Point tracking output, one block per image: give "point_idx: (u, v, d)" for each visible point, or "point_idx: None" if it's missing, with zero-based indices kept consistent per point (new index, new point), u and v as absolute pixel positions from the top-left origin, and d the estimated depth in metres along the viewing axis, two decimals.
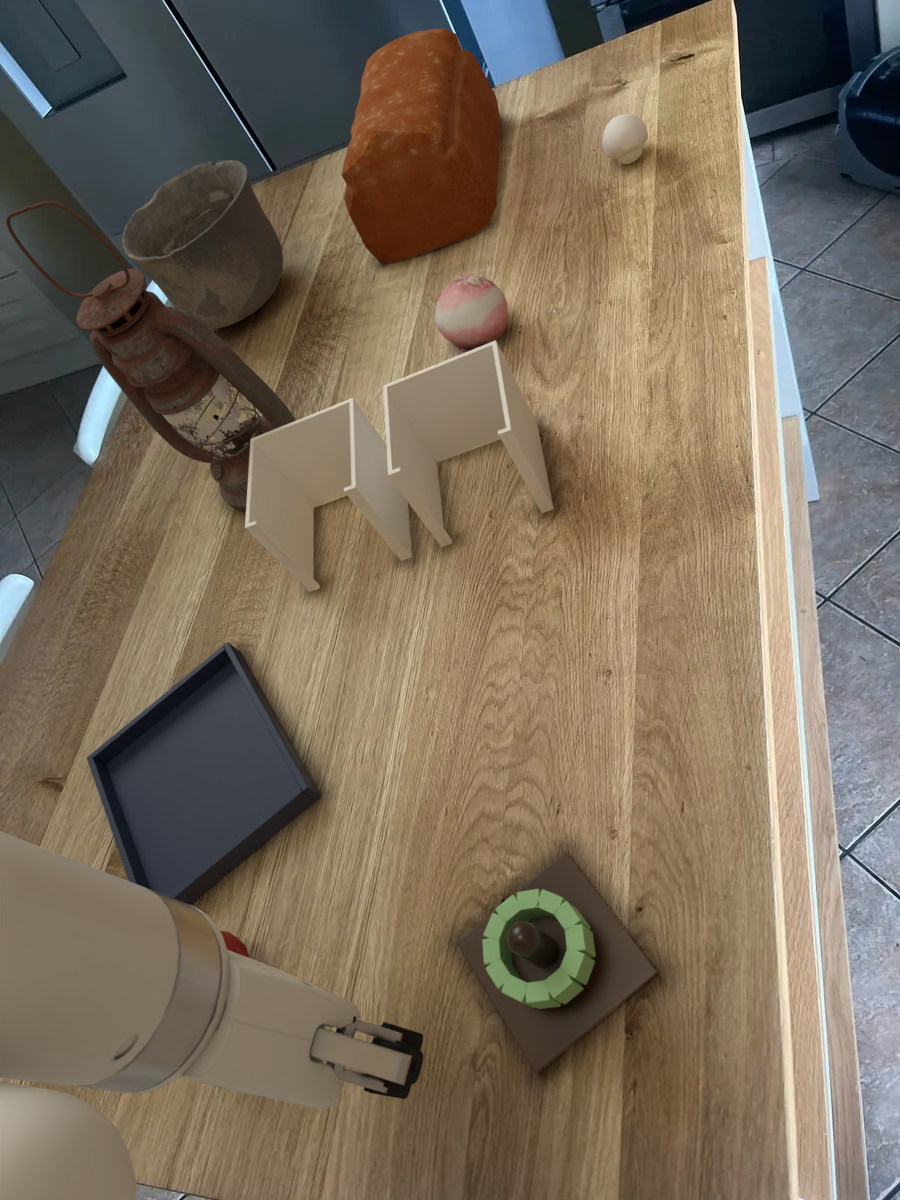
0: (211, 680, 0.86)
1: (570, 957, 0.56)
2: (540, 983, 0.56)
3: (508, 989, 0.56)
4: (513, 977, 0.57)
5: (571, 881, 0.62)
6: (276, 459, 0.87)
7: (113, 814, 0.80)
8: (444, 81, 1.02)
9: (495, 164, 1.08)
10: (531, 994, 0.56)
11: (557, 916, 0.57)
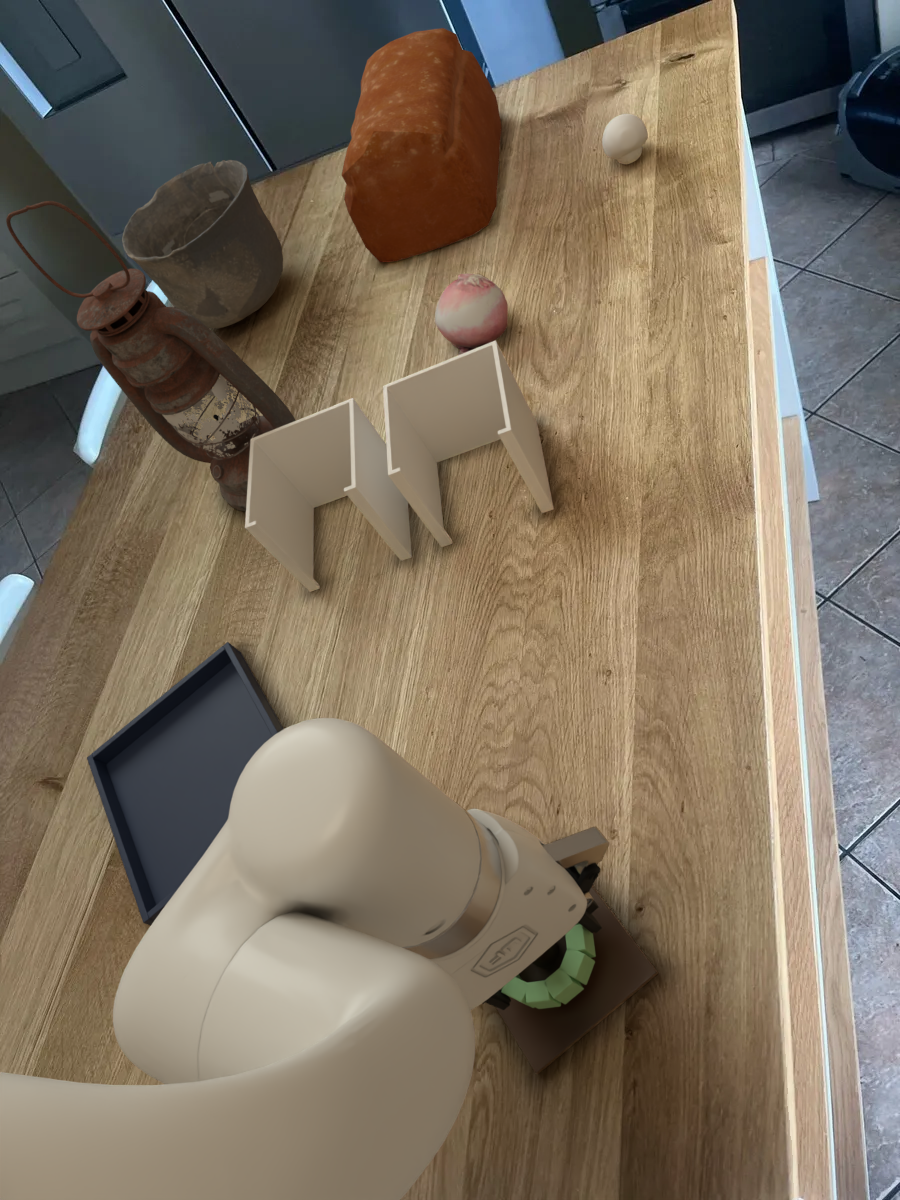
0: (211, 680, 0.86)
1: (570, 957, 0.56)
2: (540, 983, 0.56)
3: (508, 989, 0.56)
4: None
5: None
6: (276, 459, 0.87)
7: (113, 814, 0.80)
8: (444, 81, 1.02)
9: (495, 164, 1.08)
10: (531, 994, 0.56)
11: None
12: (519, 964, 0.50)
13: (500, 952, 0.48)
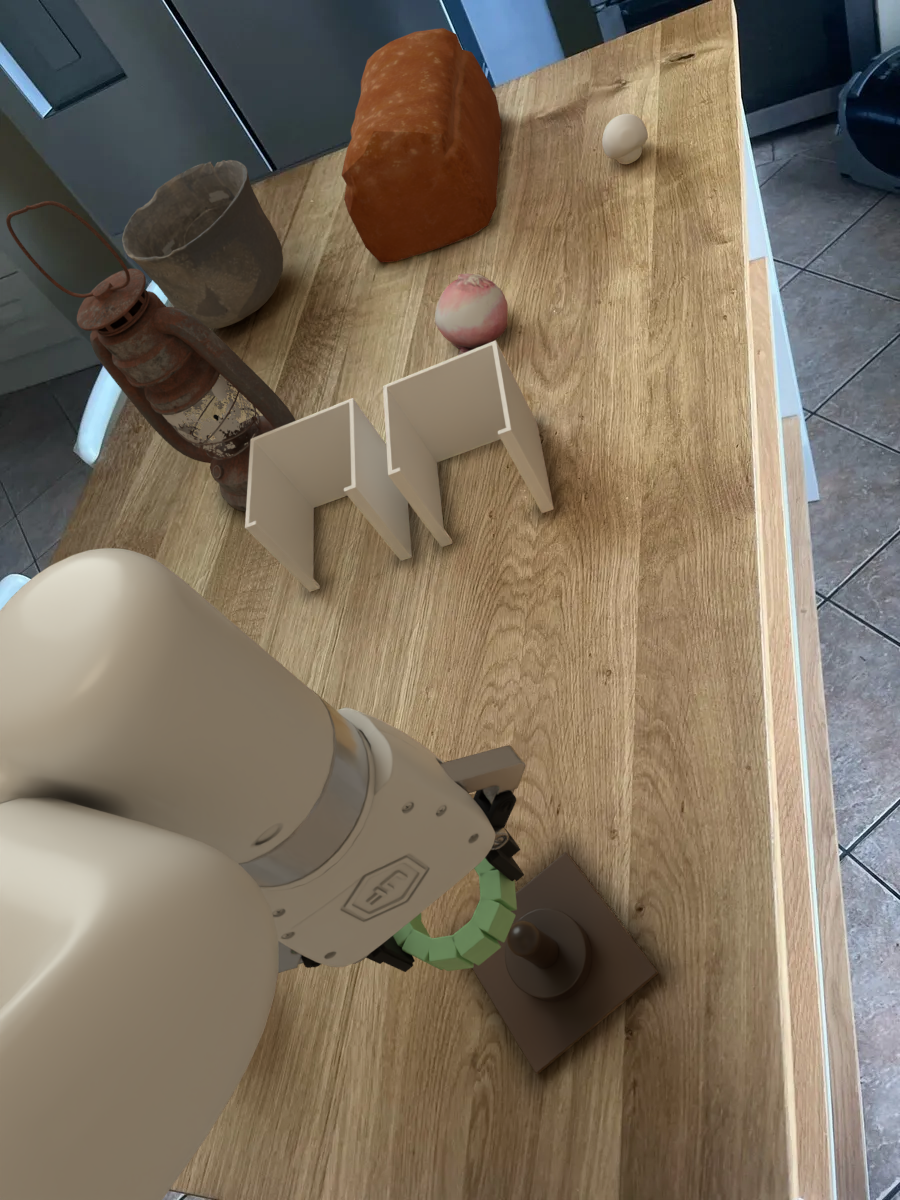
0: None
1: (483, 908, 0.47)
2: (447, 939, 0.46)
3: (410, 946, 0.47)
4: (416, 932, 0.47)
5: (571, 881, 0.62)
6: (276, 459, 0.87)
7: None
8: (444, 81, 1.02)
9: (495, 164, 1.08)
10: (436, 951, 0.46)
11: None
12: (409, 908, 0.41)
13: (380, 888, 0.39)
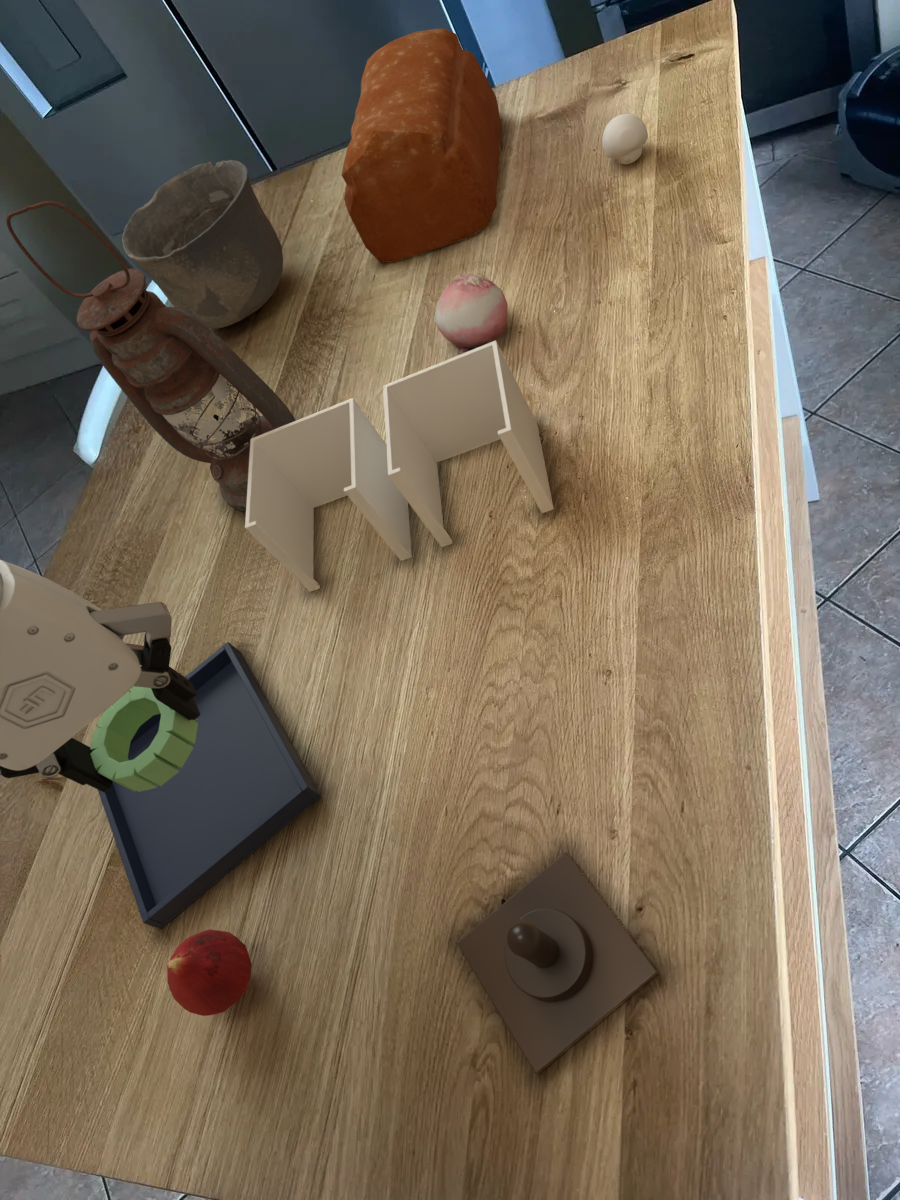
0: (211, 680, 0.86)
1: (159, 737, 0.58)
2: (129, 762, 0.58)
3: (103, 769, 0.59)
4: (110, 759, 0.59)
5: (571, 881, 0.62)
6: (276, 459, 0.87)
7: (113, 814, 0.80)
8: (444, 81, 1.02)
9: (495, 164, 1.08)
10: (120, 772, 0.58)
11: (158, 704, 0.60)
12: (68, 722, 0.53)
13: (30, 700, 0.51)
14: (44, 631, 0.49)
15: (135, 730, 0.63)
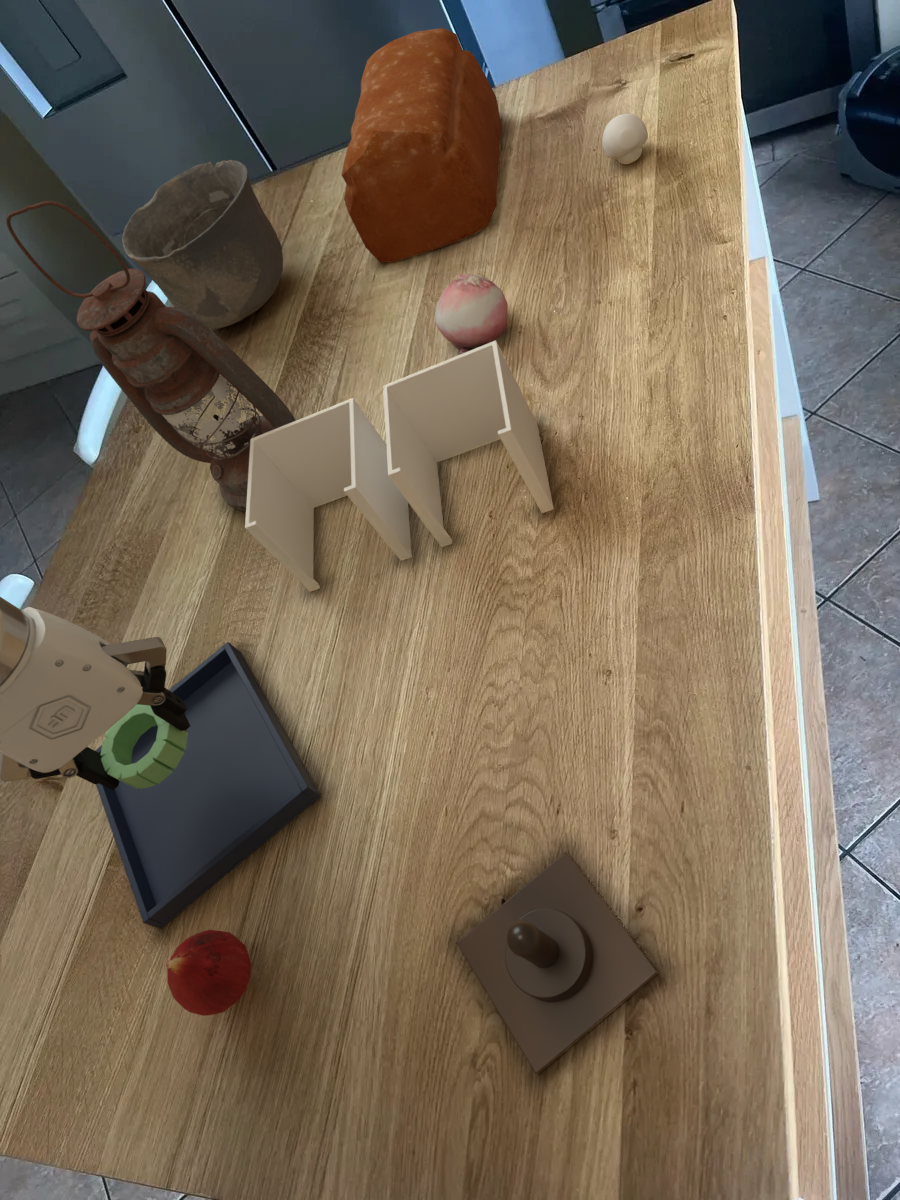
0: (211, 680, 0.86)
1: (156, 745, 0.72)
2: (133, 765, 0.72)
3: (111, 771, 0.73)
4: (117, 762, 0.73)
5: (571, 881, 0.62)
6: (276, 459, 0.87)
7: (113, 814, 0.80)
8: (444, 81, 1.02)
9: (495, 164, 1.08)
10: (125, 773, 0.72)
11: (155, 717, 0.74)
12: (85, 734, 0.67)
13: (56, 717, 0.65)
14: (67, 663, 0.63)
15: (137, 739, 0.77)
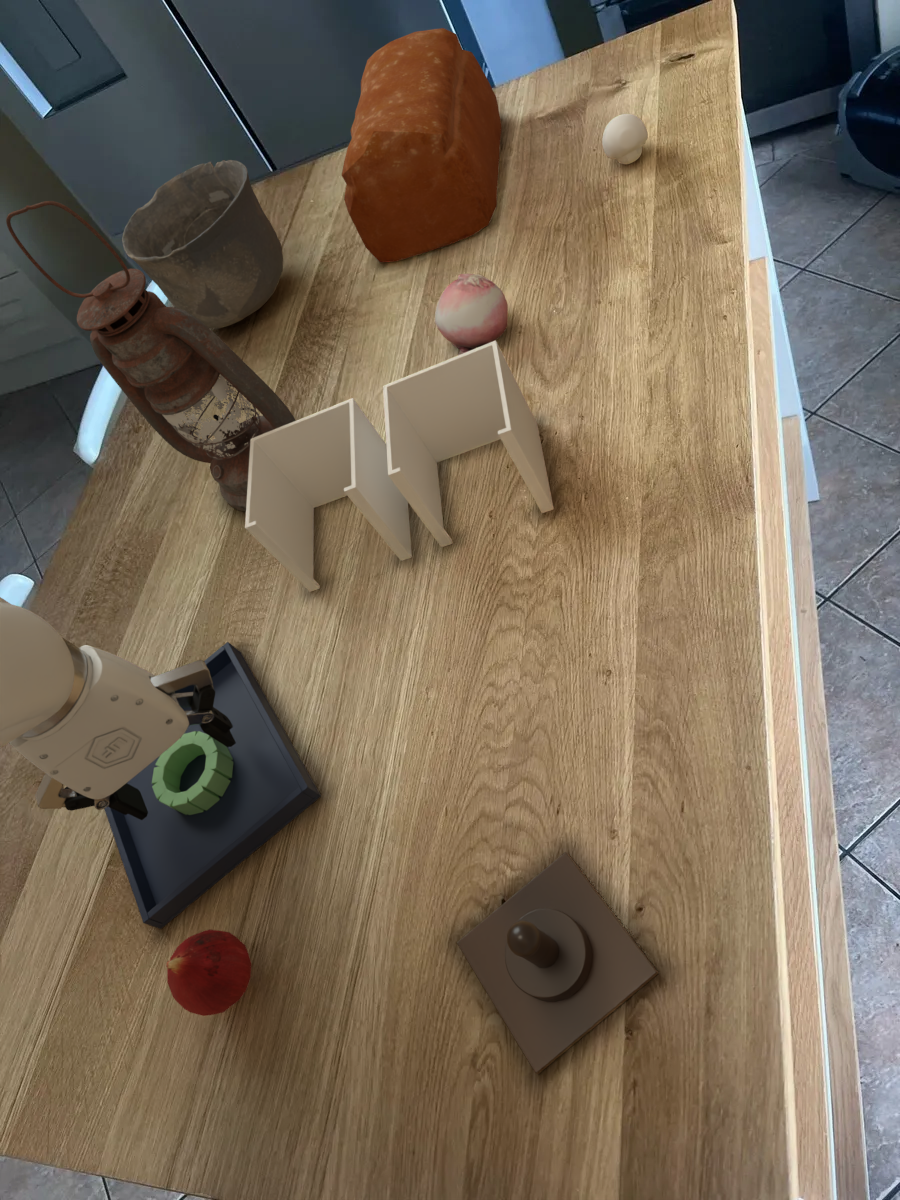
0: None
1: (205, 774, 0.77)
2: (183, 793, 0.77)
3: (163, 798, 0.78)
4: (168, 790, 0.78)
5: (571, 881, 0.62)
6: (276, 459, 0.87)
7: (113, 814, 0.80)
8: (444, 81, 1.02)
9: (495, 164, 1.08)
10: (176, 800, 0.77)
11: (203, 748, 0.79)
12: (135, 763, 0.71)
13: (110, 748, 0.69)
14: (122, 698, 0.67)
15: (184, 767, 0.82)
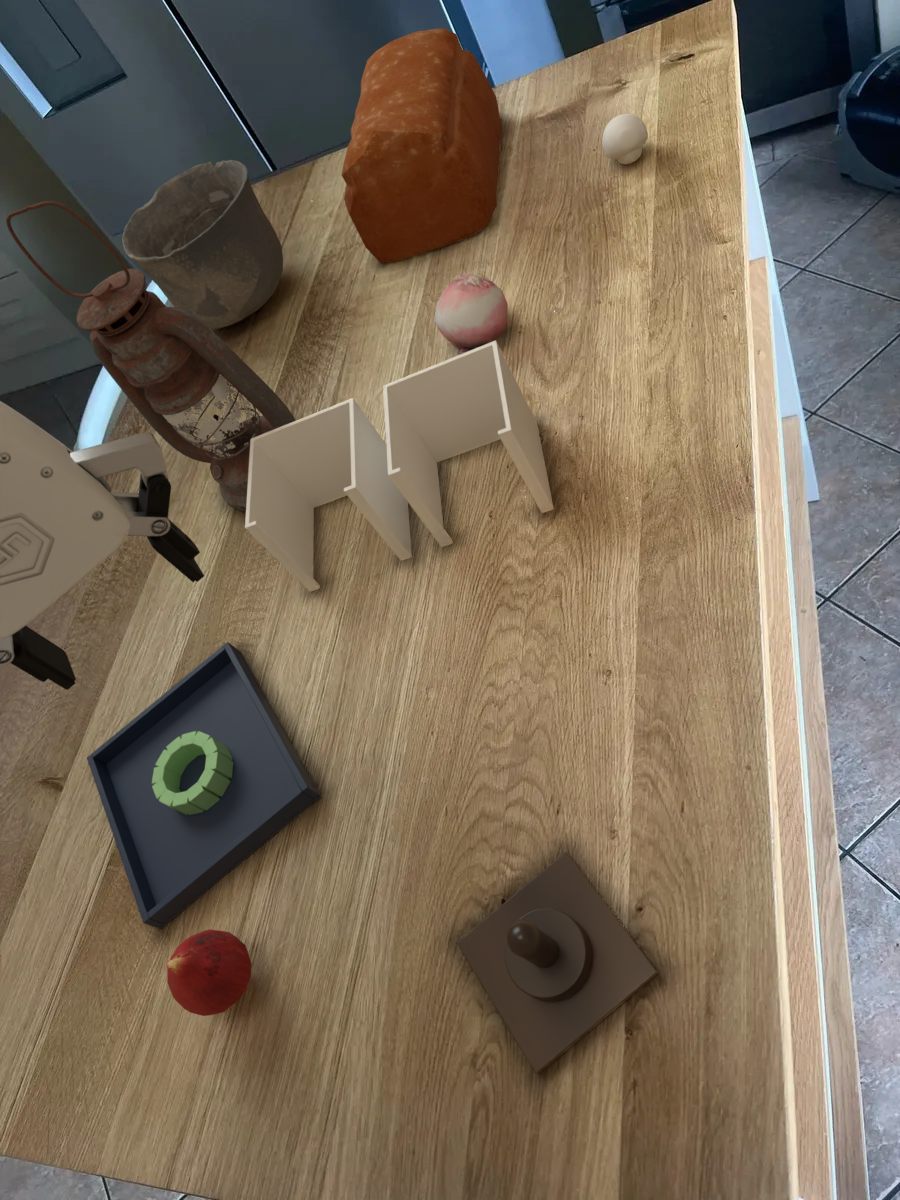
0: (211, 680, 0.86)
1: (205, 774, 0.77)
2: (183, 793, 0.77)
3: (163, 798, 0.78)
4: (168, 790, 0.78)
5: (571, 881, 0.62)
6: (276, 459, 0.87)
7: (113, 814, 0.80)
8: (444, 81, 1.02)
9: (495, 164, 1.08)
10: (176, 800, 0.77)
11: (203, 748, 0.79)
12: (46, 583, 0.46)
13: (2, 550, 0.44)
14: (17, 460, 0.42)
15: (184, 767, 0.82)
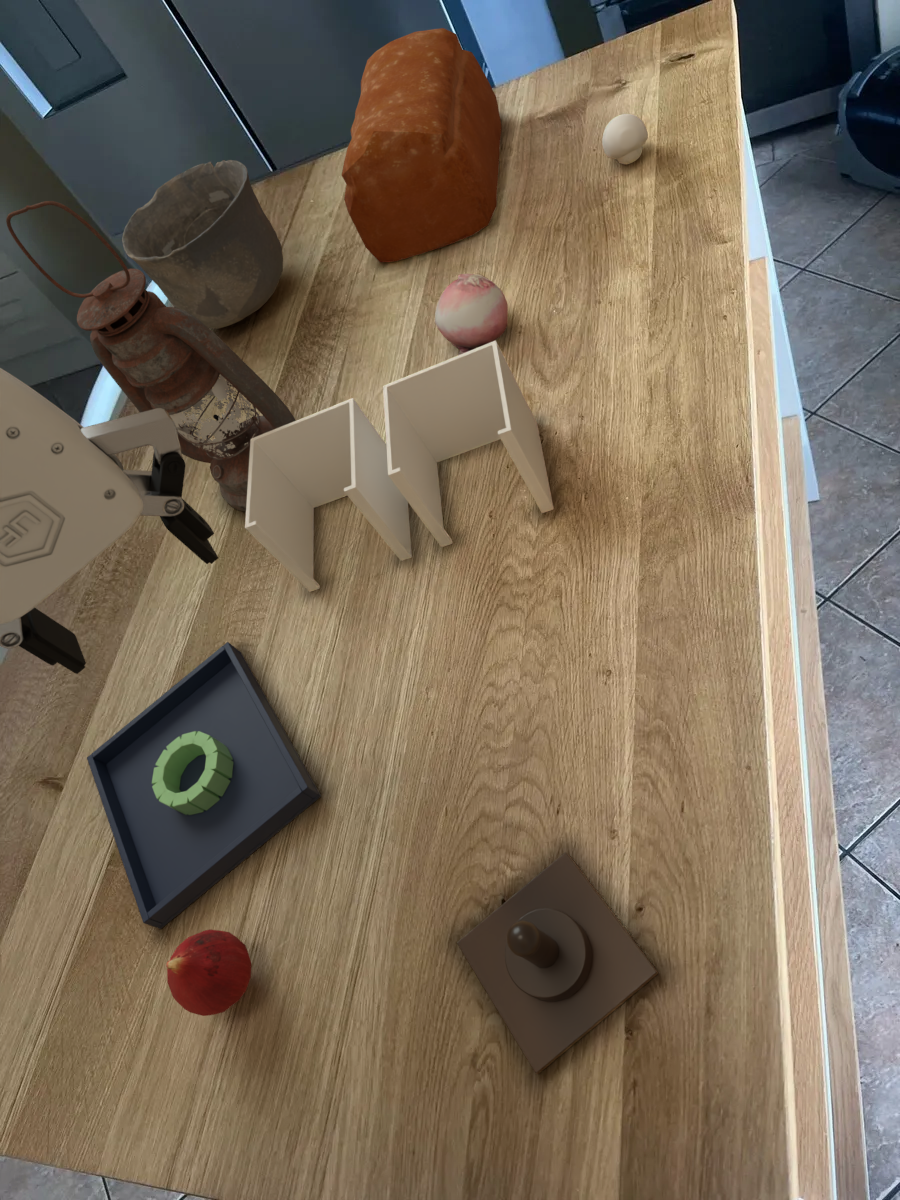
0: (211, 680, 0.86)
1: (205, 774, 0.77)
2: (183, 793, 0.77)
3: (163, 798, 0.78)
4: (168, 790, 0.78)
5: (571, 881, 0.62)
6: (276, 459, 0.87)
7: (113, 814, 0.80)
8: (444, 81, 1.02)
9: (495, 164, 1.08)
10: (176, 800, 0.77)
11: (203, 748, 0.79)
12: (56, 563, 0.45)
13: (11, 529, 0.43)
14: (27, 435, 0.40)
15: (184, 767, 0.82)
